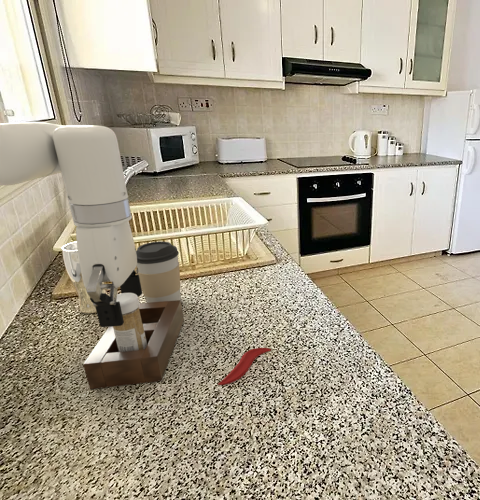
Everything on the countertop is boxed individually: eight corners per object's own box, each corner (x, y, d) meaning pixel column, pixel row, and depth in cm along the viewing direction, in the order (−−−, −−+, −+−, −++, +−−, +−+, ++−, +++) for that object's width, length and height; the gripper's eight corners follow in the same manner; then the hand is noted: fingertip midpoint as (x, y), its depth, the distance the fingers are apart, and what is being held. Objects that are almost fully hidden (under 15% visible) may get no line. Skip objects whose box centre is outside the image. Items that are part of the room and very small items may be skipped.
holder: (89, 389, 61) (82, 364, 59) (128, 325, 78) (124, 304, 76) (162, 381, 63) (157, 356, 61) (184, 320, 81) (180, 299, 79)
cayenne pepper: (264, 345, 73) (263, 337, 72) (279, 355, 70) (278, 346, 69) (207, 376, 64) (206, 367, 64) (222, 388, 62) (221, 379, 61)
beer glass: (120, 304, 86) (106, 244, 80) (87, 318, 80) (69, 253, 75) (104, 296, 89) (90, 237, 84) (71, 308, 84) (54, 246, 78)
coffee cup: (133, 310, 84) (120, 248, 78) (166, 293, 92) (155, 235, 86) (164, 319, 81) (152, 255, 75) (194, 300, 88) (186, 241, 83)
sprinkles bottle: (156, 358, 68) (143, 293, 63) (137, 374, 64) (122, 306, 59) (135, 354, 69) (121, 290, 64) (115, 370, 65) (98, 302, 60)
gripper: (97, 198, 64) (116, 287, 70) (42, 229, 48) (74, 342, 54) (145, 197, 65) (160, 285, 71) (107, 227, 49) (131, 337, 56)
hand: (123, 309), depth 63 cm, fingers open, 9 cm apart
